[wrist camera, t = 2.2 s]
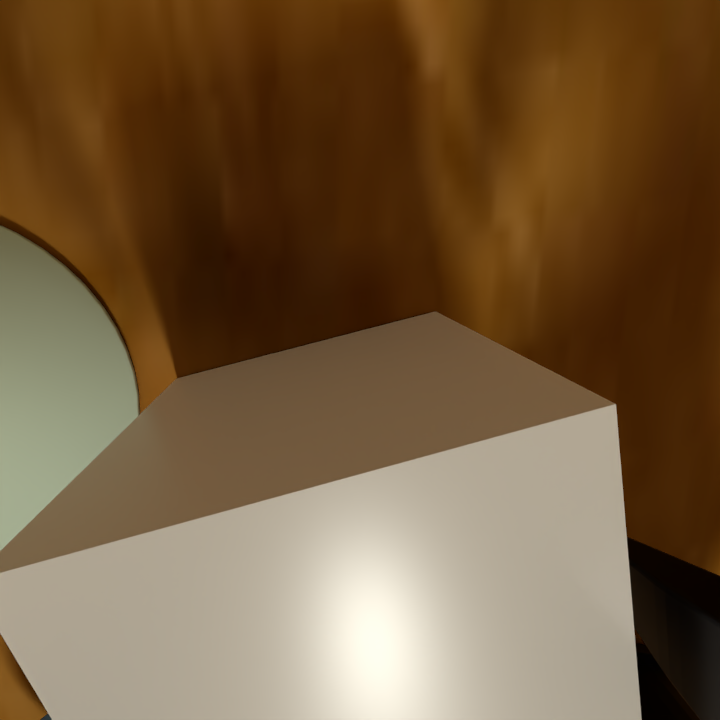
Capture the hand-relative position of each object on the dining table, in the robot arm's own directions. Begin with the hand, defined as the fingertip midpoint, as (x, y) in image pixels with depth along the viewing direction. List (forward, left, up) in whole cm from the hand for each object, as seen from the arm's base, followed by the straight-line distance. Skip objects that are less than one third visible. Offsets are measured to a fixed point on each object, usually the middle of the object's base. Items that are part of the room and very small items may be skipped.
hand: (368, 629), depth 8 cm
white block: (0, 0, -6) cm, 6 cm away
